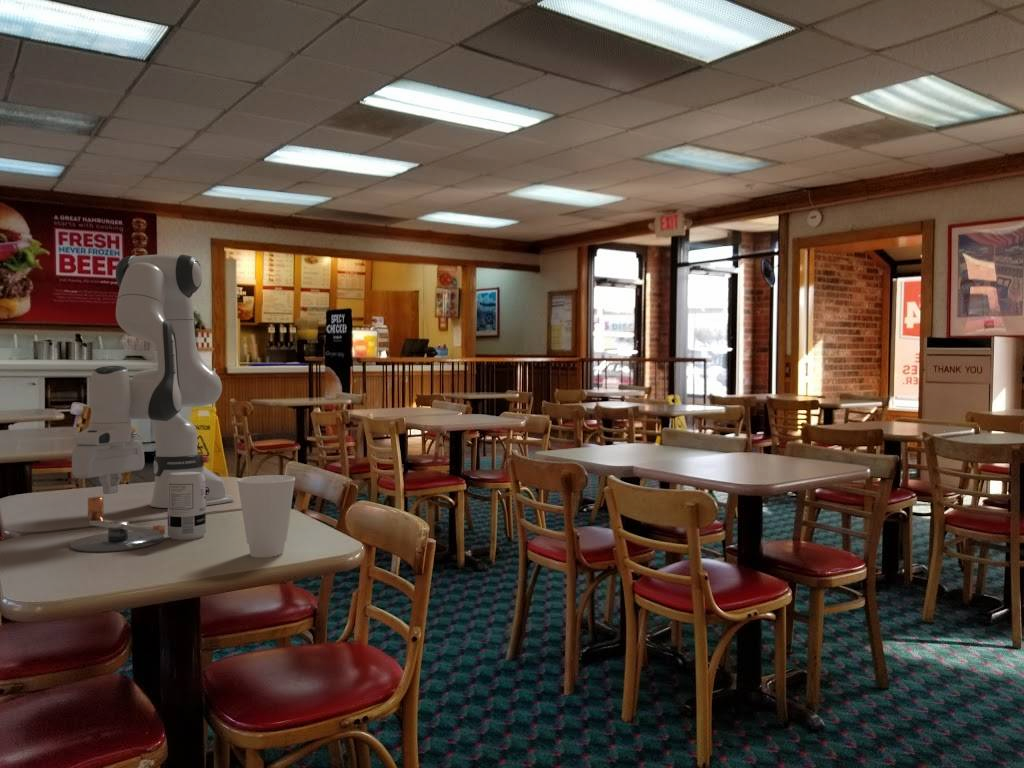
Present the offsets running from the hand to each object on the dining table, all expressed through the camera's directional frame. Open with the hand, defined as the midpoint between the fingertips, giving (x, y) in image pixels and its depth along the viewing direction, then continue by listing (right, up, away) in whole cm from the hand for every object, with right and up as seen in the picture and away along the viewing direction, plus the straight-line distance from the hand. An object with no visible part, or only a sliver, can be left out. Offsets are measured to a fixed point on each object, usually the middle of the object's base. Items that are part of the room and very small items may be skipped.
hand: (110, 493), depth 191 cm
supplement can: (+19, -10, -2) cm, 22 cm away
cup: (+43, -11, -19) cm, 48 cm away
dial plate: (+6, -10, -8) cm, 14 cm away
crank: (+8, -7, -10) cm, 14 cm away
